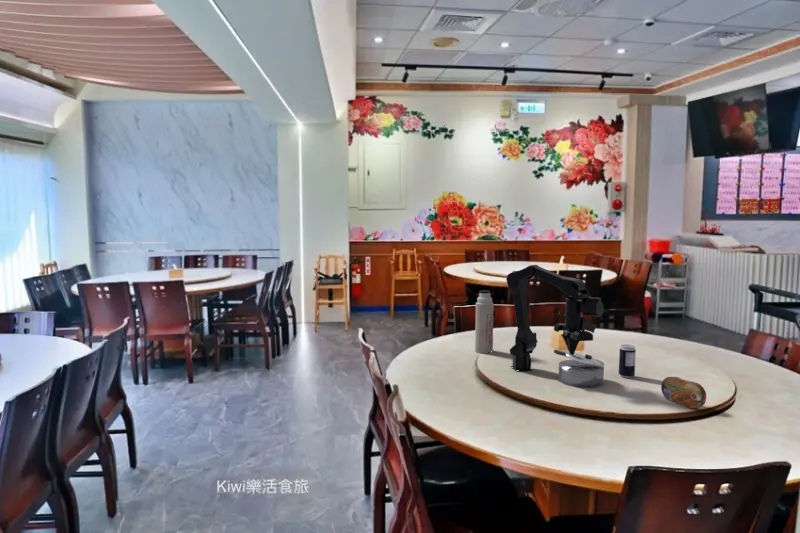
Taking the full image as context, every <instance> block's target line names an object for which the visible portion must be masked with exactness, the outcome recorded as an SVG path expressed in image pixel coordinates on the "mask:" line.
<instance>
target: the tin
mask: <svg viewBox="0 0 800 533" xmlns="http://www.w3.org/2000/svg"><path fill="white" fill-rule="evenodd" d="M660 388H661V393H662V395H663V397H664V398H665V399H666V400H667V401H669V402H671V403H674V404H677V405H680V406H682V407H685V408H689V409H697V408H701V407H703V406H704V405H705V403H706V402H707V392H706V390H705V388H704V386H702V385H701V384H700V383H698V382H696V381H693V380H689V379H685V378H681V377H678V376H667V377H665V378H664V379H663V380H662V382H661V385H660Z"/></svg>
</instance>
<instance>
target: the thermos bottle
mask: <svg viewBox="0 0 800 533" xmlns="http://www.w3.org/2000/svg"><path fill="white" fill-rule="evenodd" d="M478 292H479V295H478V296H477V299H476V300H477V302H475V325H474V327H475V328H474V329H475V334H474V335H475V337H474V345H475V346H474V351H475V353H479V354H488V353H487V352H491V351H494V302H493V298H492V297H491V291H490V290H488V289H487V290H485V289H483V290H478Z"/></svg>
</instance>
